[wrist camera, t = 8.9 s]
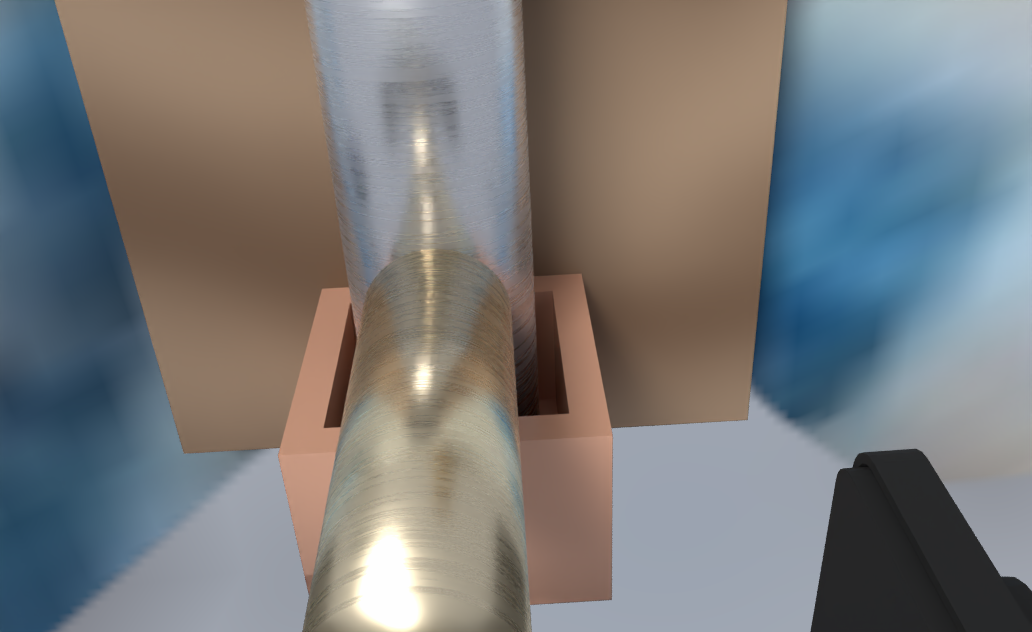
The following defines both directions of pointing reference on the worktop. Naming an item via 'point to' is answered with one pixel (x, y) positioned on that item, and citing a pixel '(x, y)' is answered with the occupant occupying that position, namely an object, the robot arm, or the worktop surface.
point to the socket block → (543, 438)
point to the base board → (553, 192)
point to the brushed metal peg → (428, 315)
